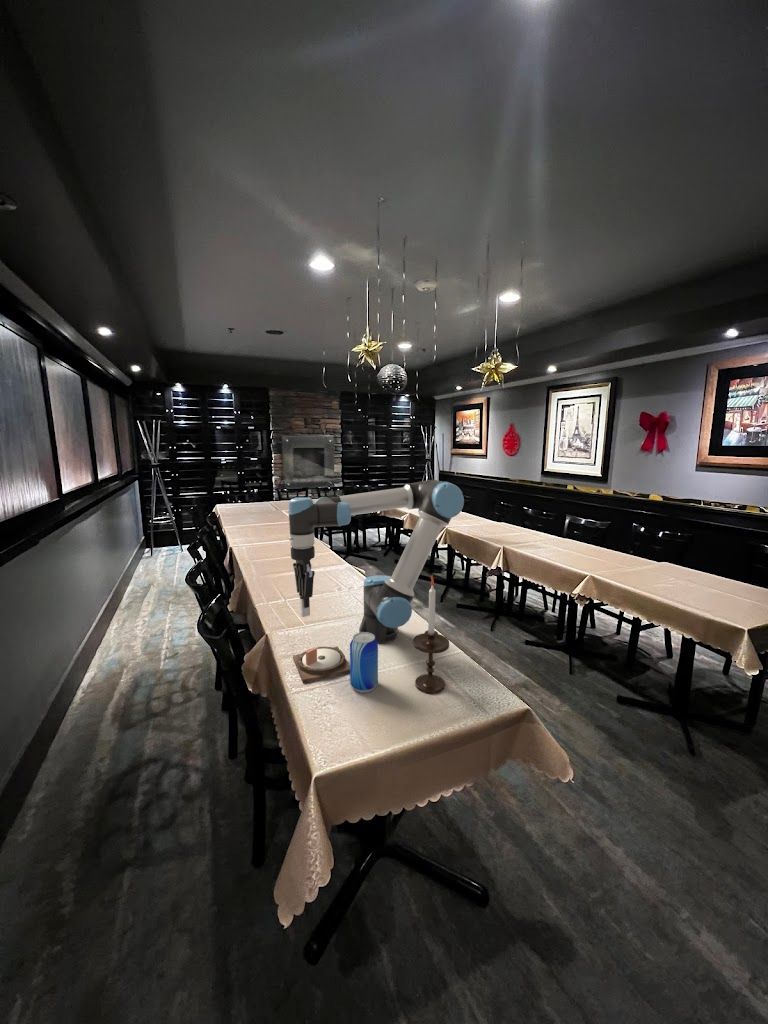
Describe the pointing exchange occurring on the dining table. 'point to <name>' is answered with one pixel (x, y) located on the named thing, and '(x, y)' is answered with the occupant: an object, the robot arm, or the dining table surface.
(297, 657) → the dial housing
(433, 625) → the candlestick
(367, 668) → the beer can
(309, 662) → the dial
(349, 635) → the dining table surface
